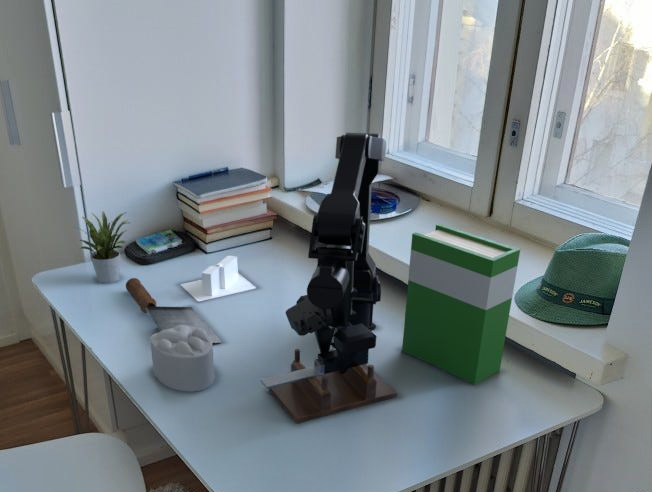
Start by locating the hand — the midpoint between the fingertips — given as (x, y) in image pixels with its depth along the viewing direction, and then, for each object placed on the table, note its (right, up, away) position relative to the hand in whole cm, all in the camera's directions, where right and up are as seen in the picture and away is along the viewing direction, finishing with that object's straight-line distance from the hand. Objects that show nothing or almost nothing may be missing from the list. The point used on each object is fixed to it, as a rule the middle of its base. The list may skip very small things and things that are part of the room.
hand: (333, 364), depth 138 cm
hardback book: (+24, +2, +12) cm, 27 cm away
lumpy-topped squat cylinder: (-27, -1, +11) cm, 29 cm away
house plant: (-48, +25, +51) cm, 74 cm away
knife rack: (0, -5, +3) cm, 6 cm away
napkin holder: (-22, +22, +45) cm, 54 cm away
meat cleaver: (-32, +13, +32) cm, 48 cm away
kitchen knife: (-2, -1, 0) cm, 3 cm away
